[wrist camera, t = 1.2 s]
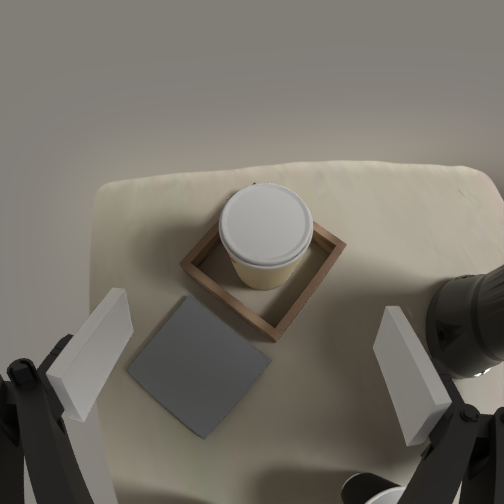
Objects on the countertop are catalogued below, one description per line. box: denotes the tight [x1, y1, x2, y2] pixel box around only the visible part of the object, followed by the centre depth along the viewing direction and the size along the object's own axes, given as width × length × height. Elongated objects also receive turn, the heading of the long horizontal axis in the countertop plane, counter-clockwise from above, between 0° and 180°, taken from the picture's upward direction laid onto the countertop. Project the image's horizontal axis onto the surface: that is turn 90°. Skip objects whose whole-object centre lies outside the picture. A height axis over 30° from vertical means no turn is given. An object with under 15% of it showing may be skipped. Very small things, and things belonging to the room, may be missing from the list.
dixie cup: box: [341, 473, 406, 504], centre depth 24 cm, size 8×8×11 cm
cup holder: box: [180, 183, 347, 342], centre depth 40 cm, size 15×15×3 cm
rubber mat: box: [126, 295, 272, 439], centre depth 36 cm, size 13×13×1 cm
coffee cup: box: [219, 183, 313, 290], centre depth 35 cm, size 9×9×12 cm
